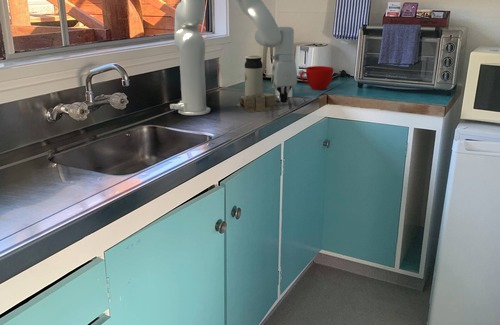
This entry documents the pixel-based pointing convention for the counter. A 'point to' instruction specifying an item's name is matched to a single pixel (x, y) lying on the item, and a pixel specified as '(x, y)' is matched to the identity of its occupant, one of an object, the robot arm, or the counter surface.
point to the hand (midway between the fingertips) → (283, 102)
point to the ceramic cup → (318, 77)
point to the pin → (276, 99)
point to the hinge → (258, 102)
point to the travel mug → (253, 75)
